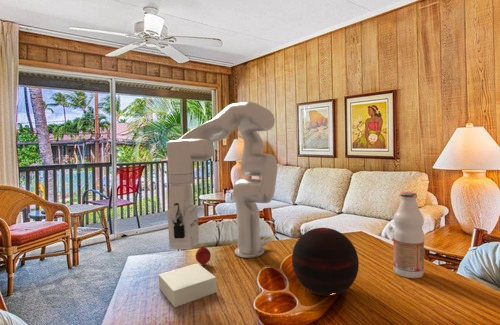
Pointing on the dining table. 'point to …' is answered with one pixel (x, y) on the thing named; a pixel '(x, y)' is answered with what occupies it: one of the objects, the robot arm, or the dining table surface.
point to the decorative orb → (325, 261)
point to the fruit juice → (408, 238)
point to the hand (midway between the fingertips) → (183, 233)
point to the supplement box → (185, 230)
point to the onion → (203, 255)
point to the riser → (187, 284)
